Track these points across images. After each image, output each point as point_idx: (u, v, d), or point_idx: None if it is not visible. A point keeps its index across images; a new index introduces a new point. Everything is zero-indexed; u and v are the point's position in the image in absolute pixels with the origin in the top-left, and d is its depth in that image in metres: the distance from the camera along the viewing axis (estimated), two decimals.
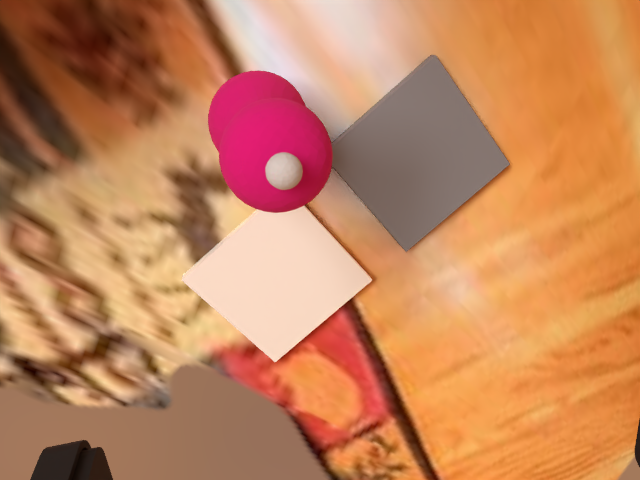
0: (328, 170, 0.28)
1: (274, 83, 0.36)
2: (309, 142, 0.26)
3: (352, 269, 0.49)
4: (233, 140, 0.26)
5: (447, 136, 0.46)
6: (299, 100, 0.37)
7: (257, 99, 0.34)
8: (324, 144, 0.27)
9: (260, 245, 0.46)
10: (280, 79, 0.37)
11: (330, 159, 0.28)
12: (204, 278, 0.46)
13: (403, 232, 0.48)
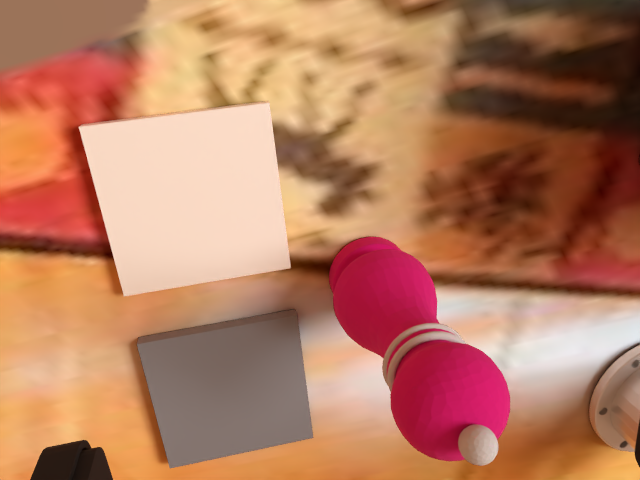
0: (421, 451, 0.27)
1: None
2: None
3: (153, 283, 0.38)
4: (507, 393, 0.26)
5: (236, 424, 0.44)
6: None
7: None
8: None
9: (249, 208, 0.38)
10: None
11: (428, 455, 0.27)
12: (253, 127, 0.36)
13: (162, 350, 0.40)
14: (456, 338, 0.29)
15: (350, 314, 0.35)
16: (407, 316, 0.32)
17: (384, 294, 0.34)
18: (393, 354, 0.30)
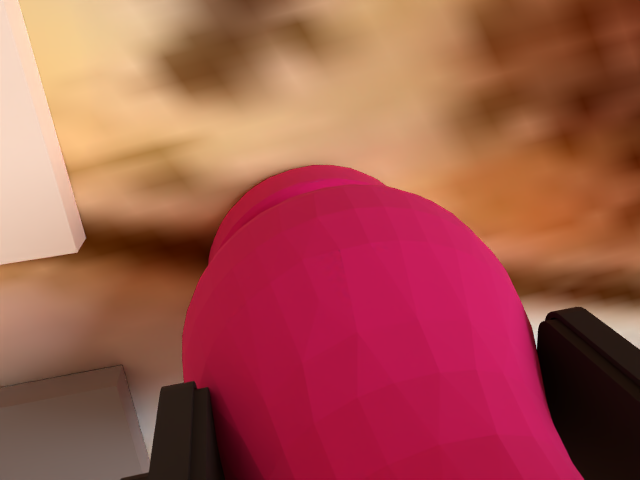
0: None
1: None
2: None
3: None
4: None
5: None
6: None
7: None
8: None
9: None
10: None
11: None
12: None
13: None
14: None
15: None
16: None
17: (336, 359, 0.07)
18: None
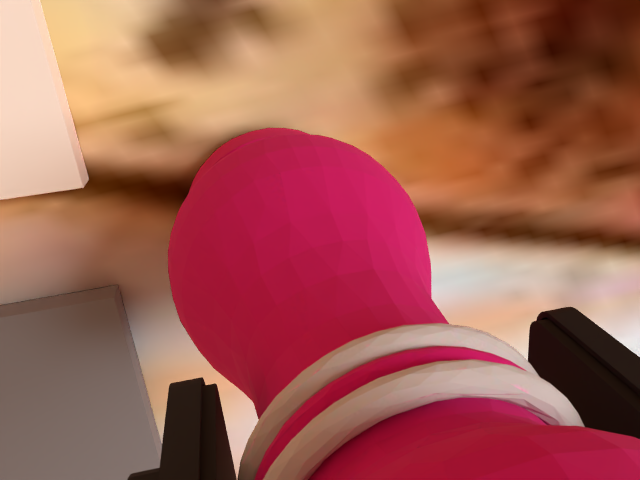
0: None
1: None
2: None
3: None
4: None
5: None
6: None
7: None
8: None
9: None
10: None
11: None
12: None
13: None
14: (537, 388, 0.07)
15: (192, 302, 0.12)
16: (341, 302, 0.09)
17: (276, 239, 0.11)
18: (266, 466, 0.07)
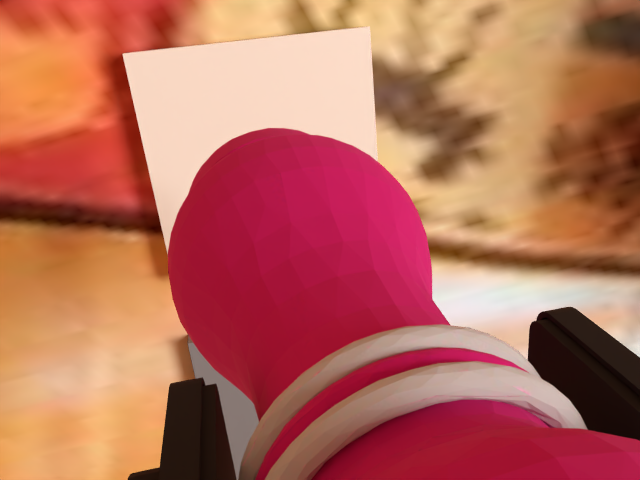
0: None
1: None
2: None
3: None
4: None
5: None
6: None
7: None
8: None
9: None
10: None
11: None
12: (348, 60, 0.27)
13: None
14: (539, 390, 0.07)
15: (192, 302, 0.12)
16: (341, 303, 0.09)
17: (276, 239, 0.11)
18: (266, 469, 0.07)
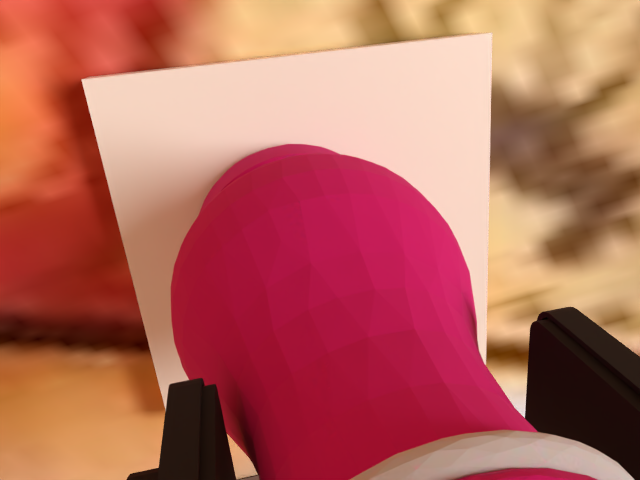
0: None
1: None
2: None
3: None
4: None
5: None
6: None
7: None
8: None
9: None
10: None
11: None
12: (454, 87, 0.17)
13: None
14: None
15: (193, 352, 0.11)
16: (374, 378, 0.07)
17: (293, 283, 0.09)
18: None
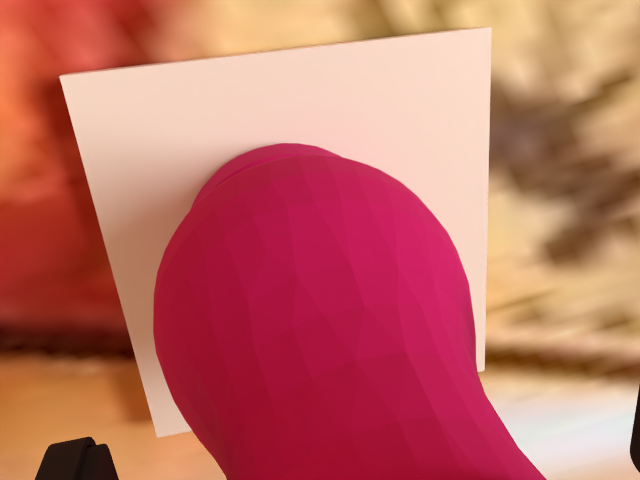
0: None
1: None
2: None
3: None
4: None
5: None
6: None
7: None
8: None
9: None
10: None
11: None
12: (451, 84, 0.16)
13: None
14: None
15: (173, 367, 0.10)
16: (359, 409, 0.06)
17: (277, 298, 0.09)
18: None
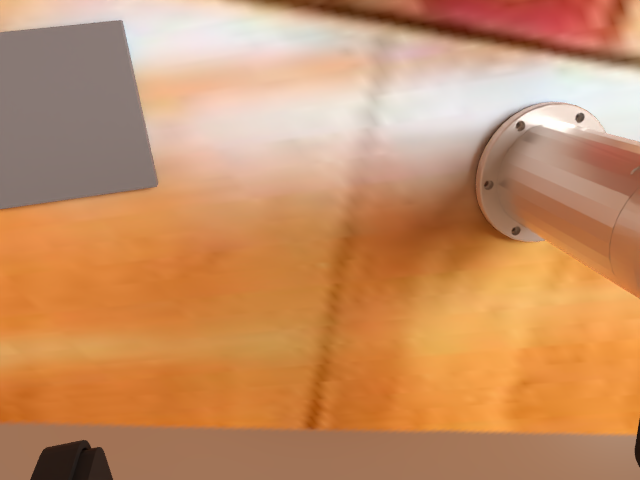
0: None
1: None
2: None
3: None
4: None
5: (65, 159, 0.40)
6: None
7: None
8: None
9: None
10: None
11: None
12: None
13: None
14: None
15: None
16: None
17: None
18: None
